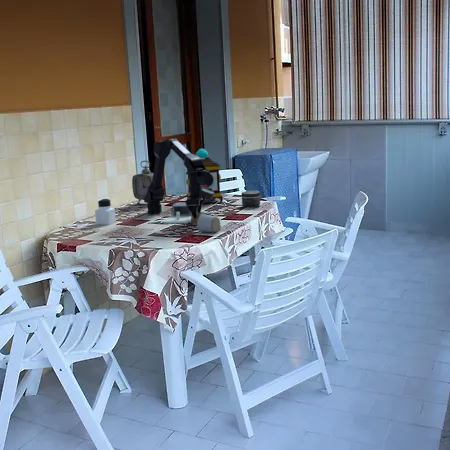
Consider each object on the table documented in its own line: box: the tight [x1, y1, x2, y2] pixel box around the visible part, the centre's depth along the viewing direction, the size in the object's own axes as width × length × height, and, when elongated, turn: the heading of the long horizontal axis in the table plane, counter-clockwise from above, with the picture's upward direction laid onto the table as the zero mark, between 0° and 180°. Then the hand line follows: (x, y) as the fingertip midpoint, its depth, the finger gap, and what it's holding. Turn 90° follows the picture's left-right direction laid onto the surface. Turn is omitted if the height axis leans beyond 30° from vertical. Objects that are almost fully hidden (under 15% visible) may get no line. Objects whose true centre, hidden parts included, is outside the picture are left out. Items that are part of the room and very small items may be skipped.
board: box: [163, 212, 191, 225], centre depth 299 cm, size 12×22×4 cm, turn 170°
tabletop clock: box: [131, 160, 154, 205], centre depth 341 cm, size 14×9×25 cm, turn 58°
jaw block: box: [190, 212, 204, 224], centre depth 290 cm, size 5×5×4 cm
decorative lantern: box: [185, 148, 224, 203], centre depth 342 cm, size 20×20×30 cm
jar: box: [240, 190, 261, 209], centre depth 322 cm, size 10×10×8 cm
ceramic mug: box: [196, 213, 222, 233], centre depth 269 cm, size 11×8×8 cm
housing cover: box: [171, 201, 191, 216], centre depth 305 cm, size 10×9×5 cm
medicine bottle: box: [94, 198, 116, 226], centre depth 296 cm, size 7×7×12 cm
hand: (197, 216), depth 290 cm, fingers open, 9 cm apart
